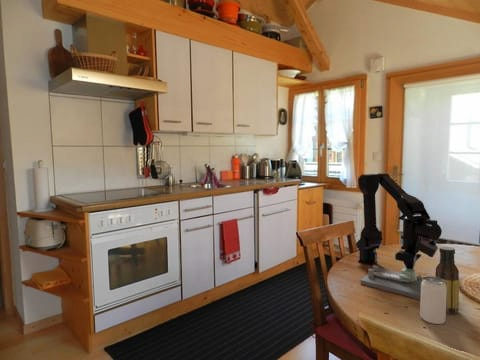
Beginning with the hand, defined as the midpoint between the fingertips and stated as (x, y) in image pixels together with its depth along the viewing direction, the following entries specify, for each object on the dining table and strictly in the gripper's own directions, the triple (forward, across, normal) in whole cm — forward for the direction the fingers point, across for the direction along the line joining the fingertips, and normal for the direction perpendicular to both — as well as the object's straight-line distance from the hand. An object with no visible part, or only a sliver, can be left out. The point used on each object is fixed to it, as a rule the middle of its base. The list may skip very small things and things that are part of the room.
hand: (410, 273), depth 122 cm
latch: (+1, -5, 0) cm, 5 cm away
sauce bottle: (+3, -17, -14) cm, 22 cm away
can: (+3, -26, -12) cm, 28 cm away
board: (+3, -6, +3) cm, 7 cm away
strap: (+1, -6, +5) cm, 8 cm away
